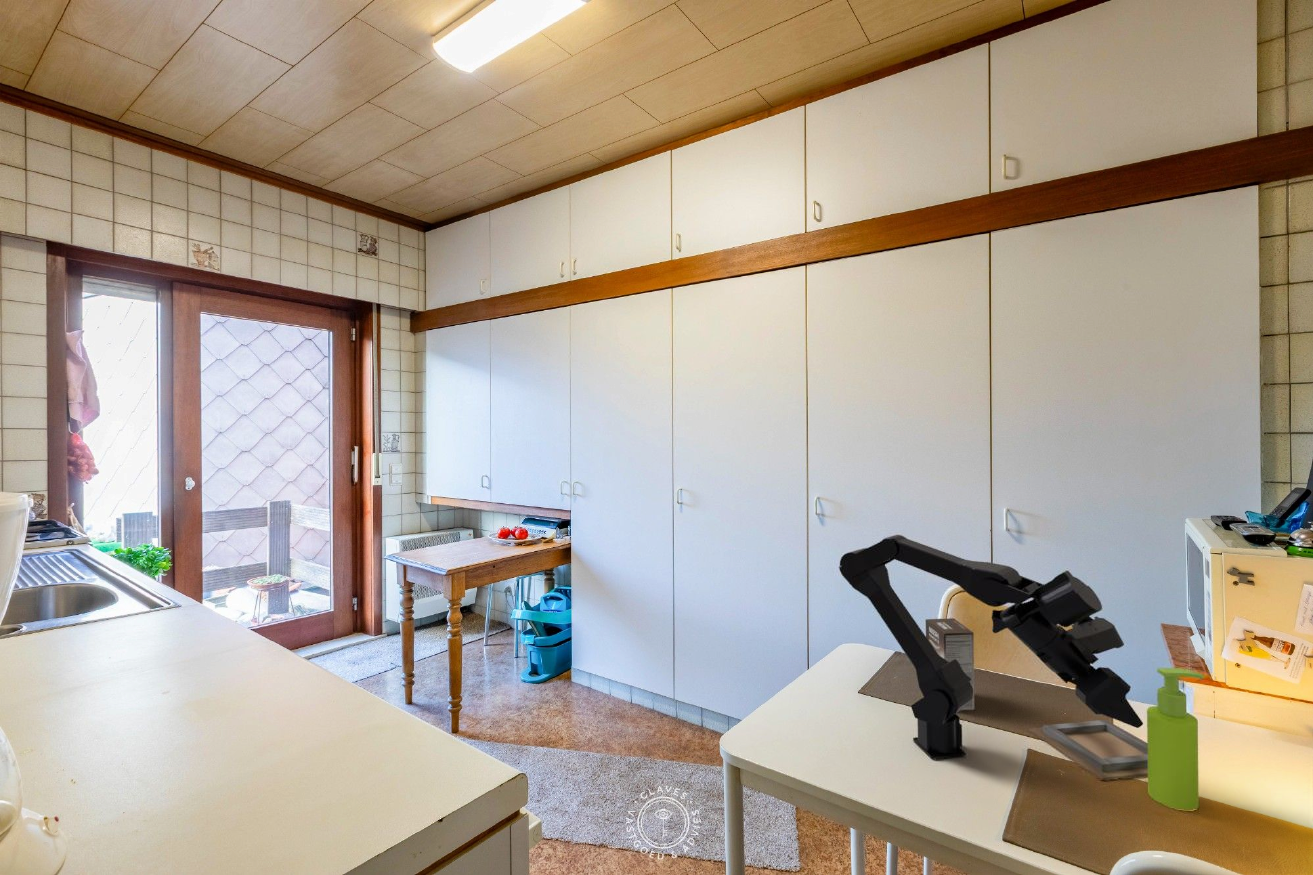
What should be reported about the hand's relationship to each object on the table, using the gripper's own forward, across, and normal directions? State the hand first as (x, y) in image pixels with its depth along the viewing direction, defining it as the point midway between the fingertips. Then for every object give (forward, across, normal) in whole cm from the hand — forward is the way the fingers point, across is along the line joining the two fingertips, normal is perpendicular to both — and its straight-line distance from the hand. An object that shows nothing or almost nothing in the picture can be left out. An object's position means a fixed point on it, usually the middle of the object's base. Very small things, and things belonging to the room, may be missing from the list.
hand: (1124, 711), depth 93 cm
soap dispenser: (+14, 0, +5) cm, 15 cm away
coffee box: (-4, +29, +23) cm, 37 cm away
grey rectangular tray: (+11, +14, +7) cm, 19 cm away
